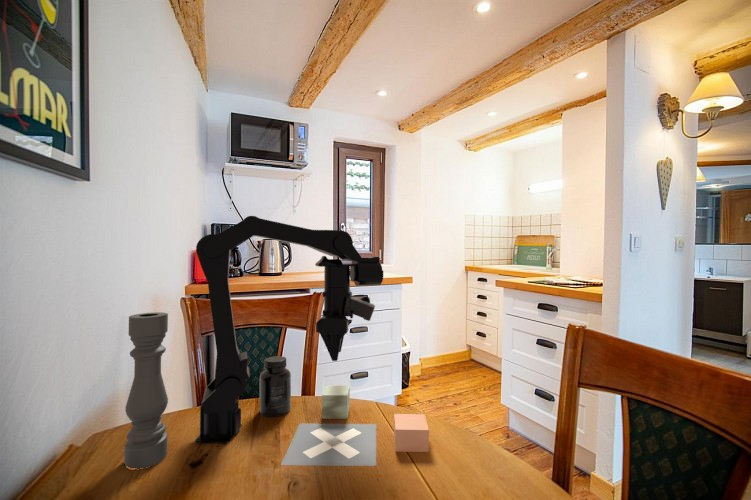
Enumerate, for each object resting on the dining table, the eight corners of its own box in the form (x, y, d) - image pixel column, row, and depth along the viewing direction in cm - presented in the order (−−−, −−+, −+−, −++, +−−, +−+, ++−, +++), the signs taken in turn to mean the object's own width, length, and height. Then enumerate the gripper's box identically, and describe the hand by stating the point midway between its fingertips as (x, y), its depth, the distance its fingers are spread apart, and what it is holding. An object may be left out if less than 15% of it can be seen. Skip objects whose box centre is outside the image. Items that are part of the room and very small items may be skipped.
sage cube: (321, 420, 73) (322, 395, 73) (325, 409, 78) (325, 385, 78) (347, 421, 73) (347, 395, 73) (349, 409, 78) (349, 385, 78)
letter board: (280, 467, 56) (280, 464, 56) (299, 425, 70) (299, 423, 70) (376, 468, 56) (376, 465, 56) (376, 425, 70) (376, 423, 70)
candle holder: (175, 450, 61) (177, 312, 61) (146, 472, 55) (149, 319, 55) (146, 447, 62) (148, 311, 63) (114, 468, 56) (117, 317, 56)
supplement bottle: (294, 406, 79) (295, 355, 80) (284, 420, 73) (284, 364, 73) (267, 404, 80) (267, 354, 80) (253, 418, 73) (254, 363, 74)
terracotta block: (395, 454, 60) (395, 429, 60) (394, 436, 66) (394, 413, 66) (428, 455, 60) (428, 430, 60) (424, 437, 66) (424, 414, 66)
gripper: (372, 291, 66) (371, 370, 66) (373, 283, 85) (373, 345, 85) (315, 290, 67) (315, 370, 66) (329, 283, 85) (329, 345, 85)
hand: (336, 356), depth 76 cm, fingers open, 6 cm apart
